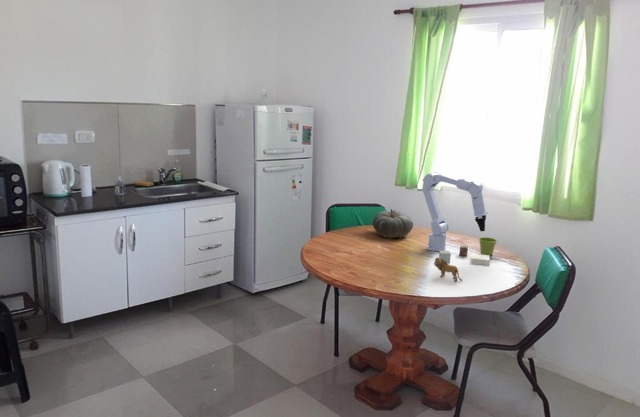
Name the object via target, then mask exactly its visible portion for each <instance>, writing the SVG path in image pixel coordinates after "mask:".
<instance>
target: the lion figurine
mask: <svg viewBox="0 0 640 417" xmlns="http://www.w3.org/2000/svg"><path fill="white" fill-rule="evenodd" d="M433 265H434V267H436V268H437V269H438V271H440V273H441V275H439V277H440V278H443V277H444V276H445V275H446V273H451V275H452V279H454V282H458V280H460V281H463V279H462V278H461V277H460V275H459V269H458V267H457V266H456V265H449V264H448V263H447V262H446V261H444V260H443V259H441V258H439V257H436V258H435V260H434V262H433Z"/></svg>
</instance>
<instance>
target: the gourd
mask: <svg viewBox="0 0 640 417" xmlns="http://www.w3.org/2000/svg"><path fill="white" fill-rule="evenodd" d="M413 227H414V223H413V221H412V218H411V217H410V216H409V215H408V214H407V213H405V212H403V211H401V210H397V209H393V208H391V209H390V210H385V211H384V210H383V211H380V212H378V213H376V214H375V216H374V218H373V220H372V228H373V229H374V230H375V231H376V233H377V234H378V235H379V236H381V237H383V238H386V237H387V238H386V239H396V238H398V237H399V238H400V239H402V237H403V238H405V237H407V236H408V234H409V233H410V232H411V231H412V230H413V229H414V228H413Z"/></svg>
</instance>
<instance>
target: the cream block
mask: <svg viewBox="0 0 640 417" xmlns="http://www.w3.org/2000/svg"><path fill="white" fill-rule="evenodd" d="M470 258H471V260H470V264H476V265H487V266H490V256H489V255H481V253H480V254H478V253H471V256H470Z"/></svg>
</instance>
